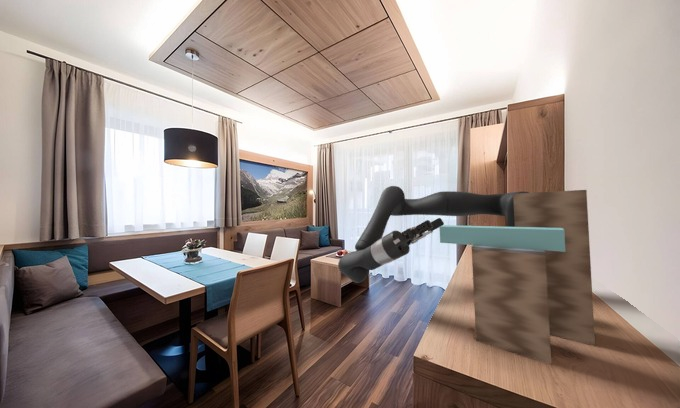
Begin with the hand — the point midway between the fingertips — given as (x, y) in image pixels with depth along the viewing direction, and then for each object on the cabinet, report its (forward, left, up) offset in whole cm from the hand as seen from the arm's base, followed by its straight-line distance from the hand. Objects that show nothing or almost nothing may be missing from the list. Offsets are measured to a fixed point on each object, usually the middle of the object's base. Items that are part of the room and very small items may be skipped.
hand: (436, 222), depth 58 cm
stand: (-21, +12, -26) cm, 35 cm away
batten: (-6, +11, -5) cm, 13 cm away
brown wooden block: (-7, +12, -26) cm, 29 cm away
